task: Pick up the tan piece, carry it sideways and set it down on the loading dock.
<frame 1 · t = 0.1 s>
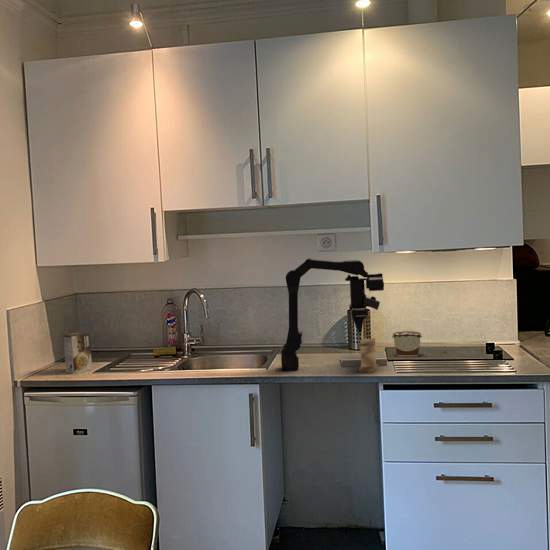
hand: (359, 330, 241), 15 cm above the worktop, tool pointing down, fingers open, 9 cm apart
food container: (407, 355, 261), on the worktop
coffee box: (79, 371, 259), on the worktop
loading dock: (363, 362, 250), on the worktop
tan piece: (368, 370, 236), on the worktop
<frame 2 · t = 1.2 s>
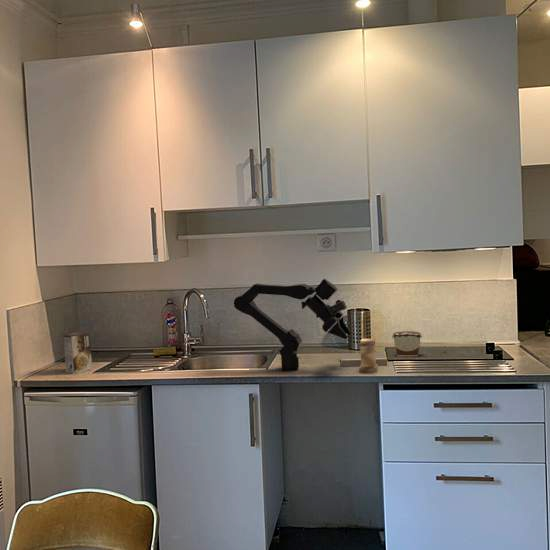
hand: (348, 336, 237), 13 cm above the worktop, tool tilted 45°, fingers open, 9 cm apart
nothing on the worktop moved.
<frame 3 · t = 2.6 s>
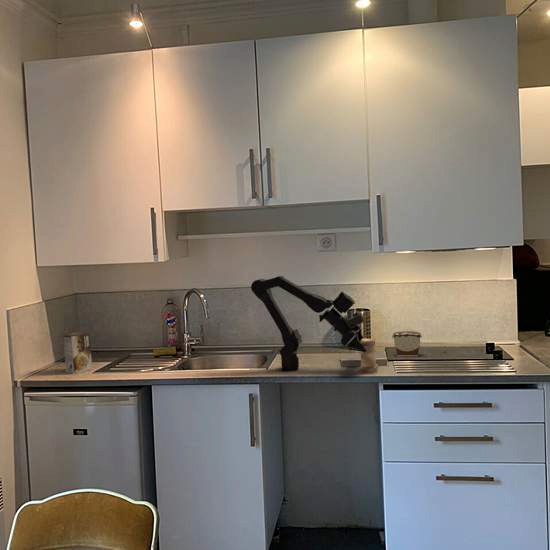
hand: (367, 349, 236), 8 cm above the worktop, tool tilted 45°, fingers open, 9 cm apart
nothing on the worktop moved.
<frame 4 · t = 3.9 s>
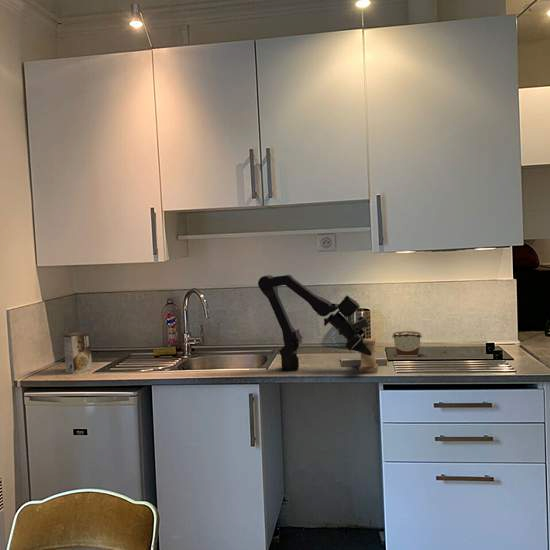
hand: (371, 353, 236), 7 cm above the worktop, tool tilted 45°, fingers closed on tan piece, 5 cm apart
tan piece: (368, 370, 236), on the worktop, touching gripper
everything else where it was.
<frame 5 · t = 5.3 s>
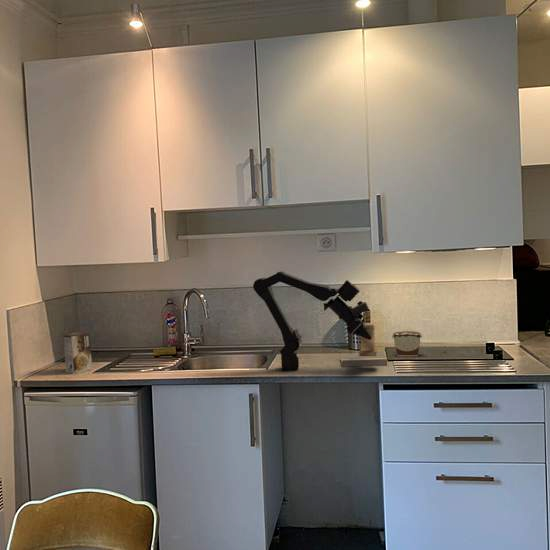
hand: (371, 337, 237), 12 cm above the worktop, tool tilted 45°, fingers closed on tan piece, 5 cm apart
tan piece: (368, 354, 238), point 6 cm above the worktop, touching gripper
everything else where it was.
when the fingers open (10 cm above the worktop, at t = 7.0 s): tan piece drops 1 cm, resting on loading dock.
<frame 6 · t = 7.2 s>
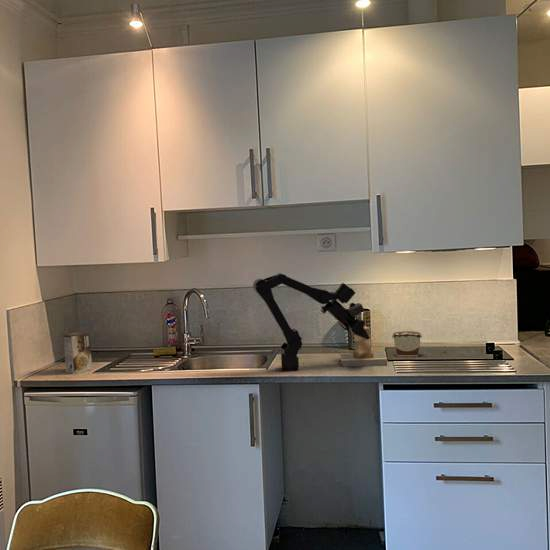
hand: (365, 336, 250), 11 cm above the worktop, tool tilted 45°, fingers open, 8 cm apart
tan piece: (363, 356, 250), point 2 cm above the worktop, touching loading dock
everything else where it was.
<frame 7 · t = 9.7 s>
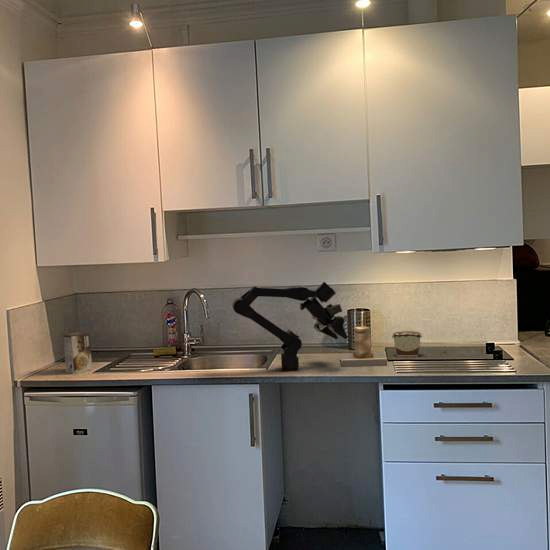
hand: (341, 338, 247), 11 cm above the worktop, tool tilted 40°, fingers open, 9 cm apart
nothing on the worktop moved.
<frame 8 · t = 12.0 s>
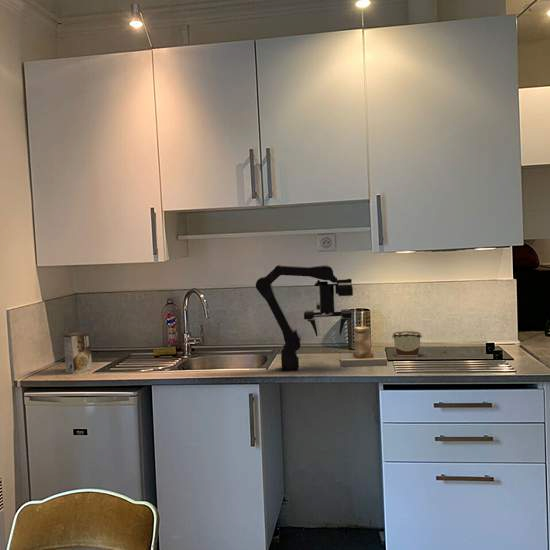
hand: (328, 335, 243), 13 cm above the worktop, tool pointing down, fingers open, 9 cm apart
nothing on the worktop moved.
at the end: tan piece inside the target area on the loading dock (0.0 cm from its centre), point 2.5 cm above the loading dock's base; tan piece tilted 0°; the gripper is holding nothing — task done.
